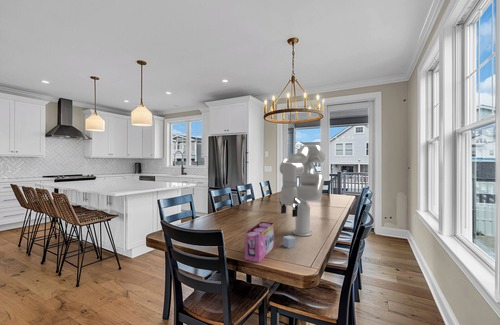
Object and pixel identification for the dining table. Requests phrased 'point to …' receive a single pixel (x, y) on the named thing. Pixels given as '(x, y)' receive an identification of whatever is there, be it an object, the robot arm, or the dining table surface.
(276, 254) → the dining table surface
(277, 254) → the dining table surface
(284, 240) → the slate cube
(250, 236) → the gum box
